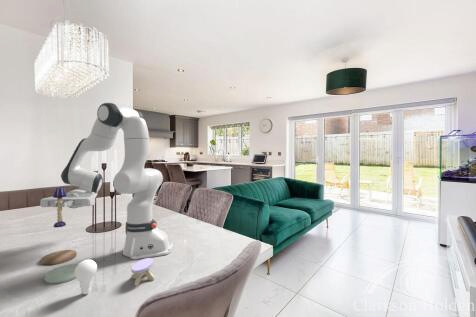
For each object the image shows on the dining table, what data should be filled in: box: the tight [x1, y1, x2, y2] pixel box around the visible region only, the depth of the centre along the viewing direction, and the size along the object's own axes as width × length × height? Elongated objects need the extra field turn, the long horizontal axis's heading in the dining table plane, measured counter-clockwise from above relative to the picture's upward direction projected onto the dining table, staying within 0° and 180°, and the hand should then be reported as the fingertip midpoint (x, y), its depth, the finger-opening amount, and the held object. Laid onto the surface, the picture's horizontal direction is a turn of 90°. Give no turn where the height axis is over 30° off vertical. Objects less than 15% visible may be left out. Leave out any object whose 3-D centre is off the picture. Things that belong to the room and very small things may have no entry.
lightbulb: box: [74, 259, 98, 295], centre depth 72 cm, size 6×6×11 cm
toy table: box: [130, 257, 156, 287], centre depth 81 cm, size 10×9×6 cm
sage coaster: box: [44, 263, 79, 285], centre depth 83 cm, size 12×12×1 cm
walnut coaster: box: [40, 249, 77, 266], centre depth 96 cm, size 12×12×1 cm
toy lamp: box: [52, 186, 67, 228], centre depth 96 cm, size 5×5×17 cm
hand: (58, 205), depth 95 cm, fingers closed on toy lamp
